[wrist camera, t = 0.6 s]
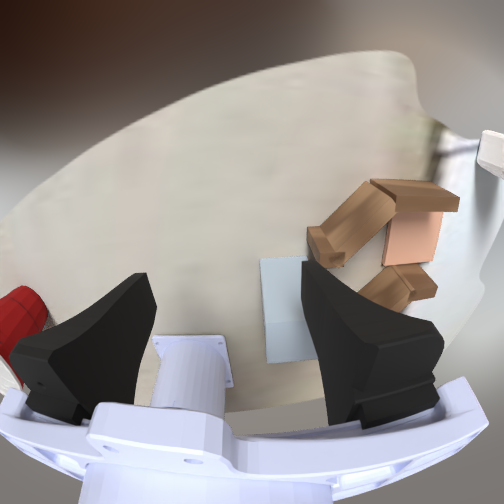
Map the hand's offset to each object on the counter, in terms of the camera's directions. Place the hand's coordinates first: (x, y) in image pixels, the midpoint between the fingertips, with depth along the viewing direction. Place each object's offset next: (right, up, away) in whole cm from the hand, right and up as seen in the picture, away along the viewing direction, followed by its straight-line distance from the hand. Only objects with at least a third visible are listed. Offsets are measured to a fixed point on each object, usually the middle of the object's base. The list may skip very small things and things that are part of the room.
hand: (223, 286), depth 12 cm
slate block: (+4, -1, +12) cm, 13 cm away
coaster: (+16, +4, +10) cm, 19 cm away
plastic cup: (-27, -5, +14) cm, 30 cm away
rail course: (+11, +2, +11) cm, 16 cm away
